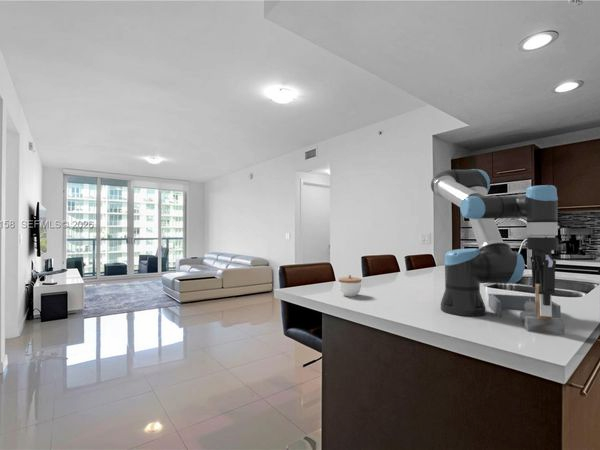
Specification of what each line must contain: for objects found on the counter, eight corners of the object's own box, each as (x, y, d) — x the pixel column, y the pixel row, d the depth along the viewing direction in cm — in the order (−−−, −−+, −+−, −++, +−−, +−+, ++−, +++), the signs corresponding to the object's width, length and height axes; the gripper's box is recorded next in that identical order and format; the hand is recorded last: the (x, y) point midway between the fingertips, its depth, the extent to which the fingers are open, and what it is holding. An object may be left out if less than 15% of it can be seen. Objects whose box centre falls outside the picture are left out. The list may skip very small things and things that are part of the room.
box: (497, 315, 113) (497, 301, 113) (488, 306, 127) (488, 293, 127) (560, 320, 106) (560, 305, 107) (544, 310, 121) (544, 296, 121)
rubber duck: (540, 321, 105) (540, 297, 106) (540, 326, 100) (540, 301, 100) (520, 319, 109) (520, 295, 109) (519, 323, 104) (519, 299, 104)
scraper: (527, 331, 96) (526, 284, 96) (524, 328, 99) (523, 283, 99) (564, 334, 93) (563, 286, 93) (560, 331, 96) (559, 284, 96)
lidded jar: (345, 292, 158) (345, 273, 158) (365, 294, 151) (365, 274, 151) (334, 295, 149) (334, 275, 149) (355, 298, 143) (355, 277, 143)
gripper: (568, 237, 87) (570, 323, 87) (547, 236, 102) (548, 309, 102) (536, 237, 90) (537, 320, 90) (519, 236, 105) (520, 307, 105)
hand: (543, 314), depth 96 cm, fingers closed on scraper, 3 cm apart
